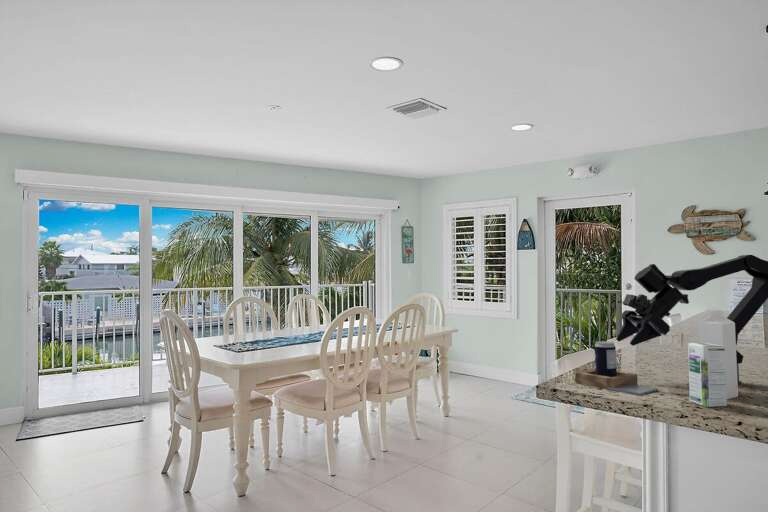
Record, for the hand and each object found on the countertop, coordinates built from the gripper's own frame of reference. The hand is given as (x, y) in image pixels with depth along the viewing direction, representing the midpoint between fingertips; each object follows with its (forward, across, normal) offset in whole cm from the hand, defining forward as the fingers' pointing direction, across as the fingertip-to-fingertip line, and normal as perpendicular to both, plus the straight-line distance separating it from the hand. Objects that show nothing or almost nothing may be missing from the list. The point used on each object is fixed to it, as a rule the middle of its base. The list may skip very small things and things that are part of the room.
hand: (624, 342), depth 146 cm
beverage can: (+12, 0, +5) cm, 13 cm away
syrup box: (+2, +24, +15) cm, 28 cm away
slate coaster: (+10, +8, +7) cm, 15 cm away
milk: (-4, +16, +21) cm, 26 cm away
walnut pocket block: (+12, 0, +5) cm, 13 cm away
